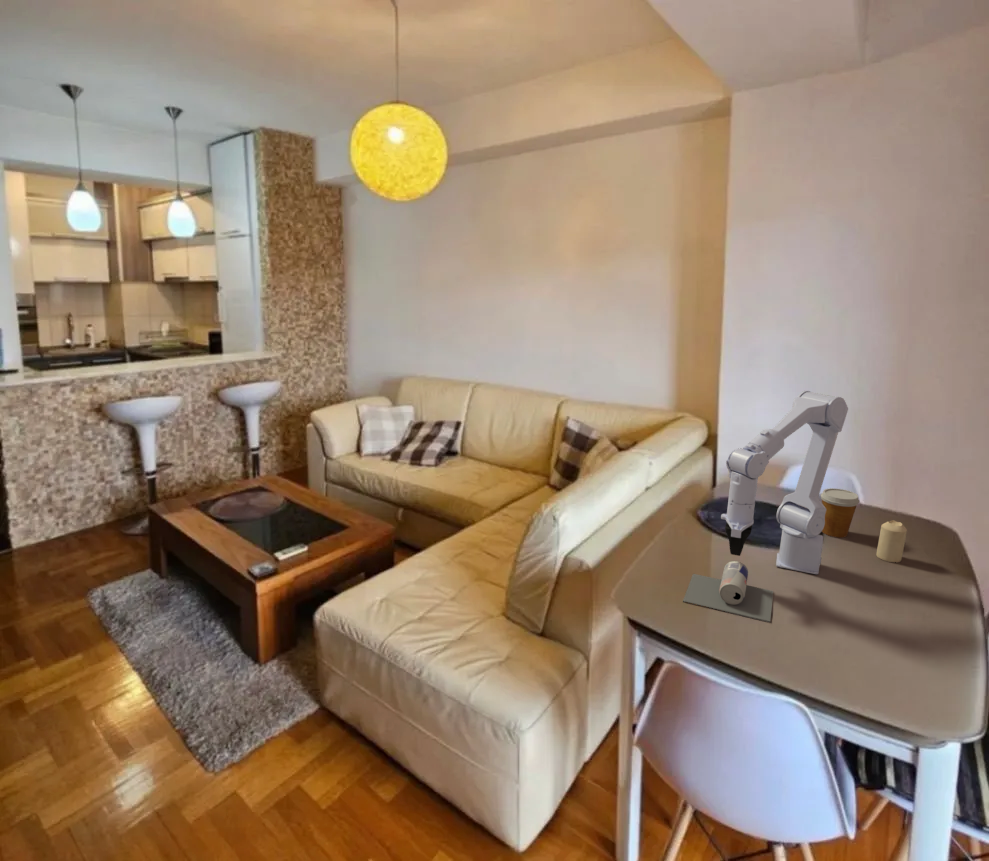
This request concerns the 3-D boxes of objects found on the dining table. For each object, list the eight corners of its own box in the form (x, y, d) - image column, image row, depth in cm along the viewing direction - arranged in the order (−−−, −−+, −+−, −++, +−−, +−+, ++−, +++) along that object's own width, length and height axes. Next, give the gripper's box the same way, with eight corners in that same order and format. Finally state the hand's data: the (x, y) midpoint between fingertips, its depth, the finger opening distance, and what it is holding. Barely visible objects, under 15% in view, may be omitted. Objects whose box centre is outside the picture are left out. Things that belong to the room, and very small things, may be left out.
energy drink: (742, 585, 141) (738, 609, 131) (720, 574, 143) (715, 598, 133) (752, 566, 139) (748, 590, 129) (729, 556, 141) (724, 579, 131)
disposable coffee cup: (860, 540, 164) (867, 500, 161) (826, 540, 164) (832, 499, 161) (841, 526, 173) (848, 487, 170) (809, 526, 173) (814, 487, 170)
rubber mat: (773, 592, 137) (773, 590, 137) (770, 622, 125) (770, 621, 125) (693, 574, 145) (693, 573, 145) (682, 601, 133) (682, 600, 133)
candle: (878, 560, 153) (884, 524, 150) (874, 551, 157) (880, 516, 155) (903, 564, 151) (910, 528, 148) (898, 555, 155) (905, 520, 153)
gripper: (726, 487, 145) (721, 538, 148) (719, 508, 132) (713, 563, 136) (758, 492, 141) (751, 544, 145) (753, 513, 129) (746, 569, 132)
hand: (735, 553), depth 140 cm, fingers closed
